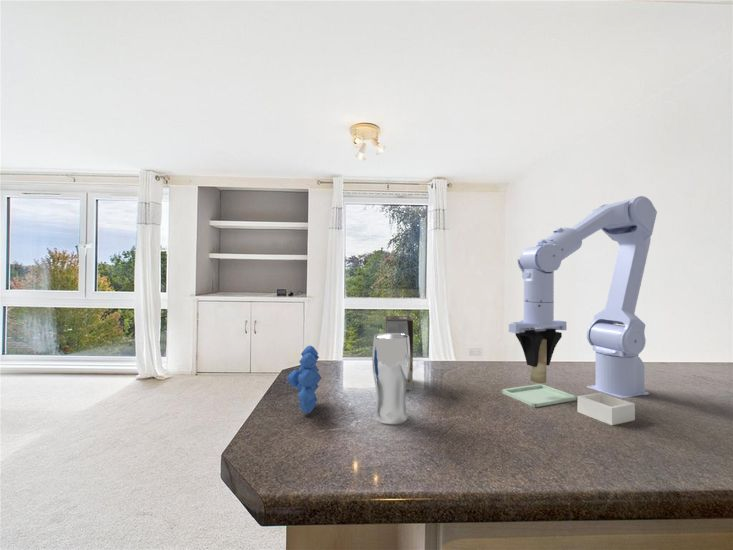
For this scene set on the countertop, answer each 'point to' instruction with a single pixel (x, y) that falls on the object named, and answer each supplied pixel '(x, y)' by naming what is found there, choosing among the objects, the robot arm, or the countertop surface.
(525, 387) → the tray
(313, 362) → the grapes
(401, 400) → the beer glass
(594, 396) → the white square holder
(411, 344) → the coffee box
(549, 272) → the robot arm
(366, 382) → the countertop surface
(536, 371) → the dowel
